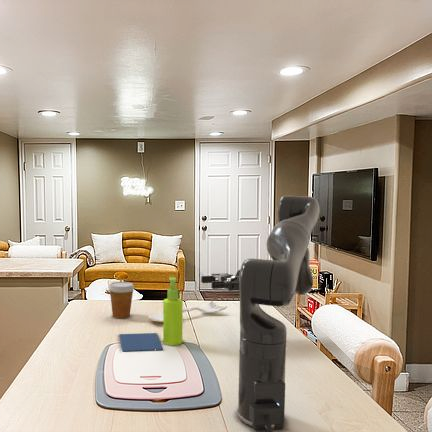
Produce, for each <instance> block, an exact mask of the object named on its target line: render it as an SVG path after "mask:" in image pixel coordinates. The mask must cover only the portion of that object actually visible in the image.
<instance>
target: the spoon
mask: <svg viewBox="0 0 432 432" xmlns="http://www.w3.org/2000/svg"><path fill="white" fill-rule="evenodd" d="M227 309H228V306H223V305H222V306H220V305H217V304H215V302H214V301H210V302H208V303H207V304H206V305H204V306H202V307H201V308H200V307H197V306H193V307H185V308H182V314H183V313H186V312H192V311H199V312H201V313H205V314H214V313H218V312H222V311H225V310H227ZM147 317H148V319H149V320H151V321H154V322H157V323H162V324H163V313H155V314H154V313H153V314H148V316H147Z"/></svg>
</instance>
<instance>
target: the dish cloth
mask: <svg viewBox="0 0 432 432" xmlns="http://www.w3.org/2000/svg"><path fill="white" fill-rule="evenodd" d="M119 340H120V345H121V351H122V352H123V353H125V352H126V353H127V352H149V351H150V352H152V351H153V352H154V350H155V349H156V351H164V347H163V345H162V343H161V340H160V339H159V336H158V334H157V332H149V333H148V332H146V333H119Z"/></svg>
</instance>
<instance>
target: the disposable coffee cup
mask: <svg viewBox="0 0 432 432" xmlns="http://www.w3.org/2000/svg"><path fill="white" fill-rule="evenodd" d="M134 289H135V286H134V284H133V283H132V282H129V281H114V282H110V283H109V286H108V290H109V295H110V304H111V312H112V317H113V318H115V319H127V318H129V317H130V316H131V309H132V300H133V294H134Z"/></svg>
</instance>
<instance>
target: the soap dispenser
mask: <svg viewBox="0 0 432 432" xmlns="http://www.w3.org/2000/svg"><path fill="white" fill-rule="evenodd" d="M168 279H169V287H168V288H167V297H166V298H164V299H163V301H162V302H163V307H162V309H163V312H162V314H163V323H162V327H163V328H162V330H163V331H162V333H163V334H162V337H163V339H162V341H163V344H165V345H169V346H179V345H182V344H183V313H182V310H183V299H181V298H179V288H178V287H177V278H176V276H168Z"/></svg>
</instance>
